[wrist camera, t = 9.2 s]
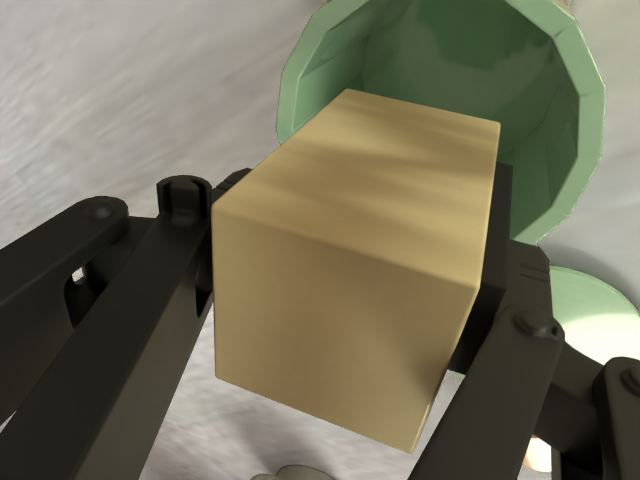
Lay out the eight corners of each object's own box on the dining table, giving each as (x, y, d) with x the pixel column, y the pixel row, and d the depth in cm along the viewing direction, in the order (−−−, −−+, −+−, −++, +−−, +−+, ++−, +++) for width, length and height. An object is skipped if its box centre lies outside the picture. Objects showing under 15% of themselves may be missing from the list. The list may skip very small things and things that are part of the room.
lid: (697, 347, 31) (756, 489, 23) (536, 425, 40) (539, 549, 32) (535, 222, 31) (538, 323, 23) (407, 328, 39) (376, 429, 31)
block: (501, 122, 14) (480, 286, 8) (456, 253, 17) (412, 456, 11) (346, 87, 15) (209, 204, 9) (327, 215, 18) (214, 378, 12)
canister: (633, 48, 24) (697, 116, 15) (466, 209, 32) (443, 317, 23) (440, -106, 24) (388, -130, 15) (317, 95, 32) (233, 160, 23)
